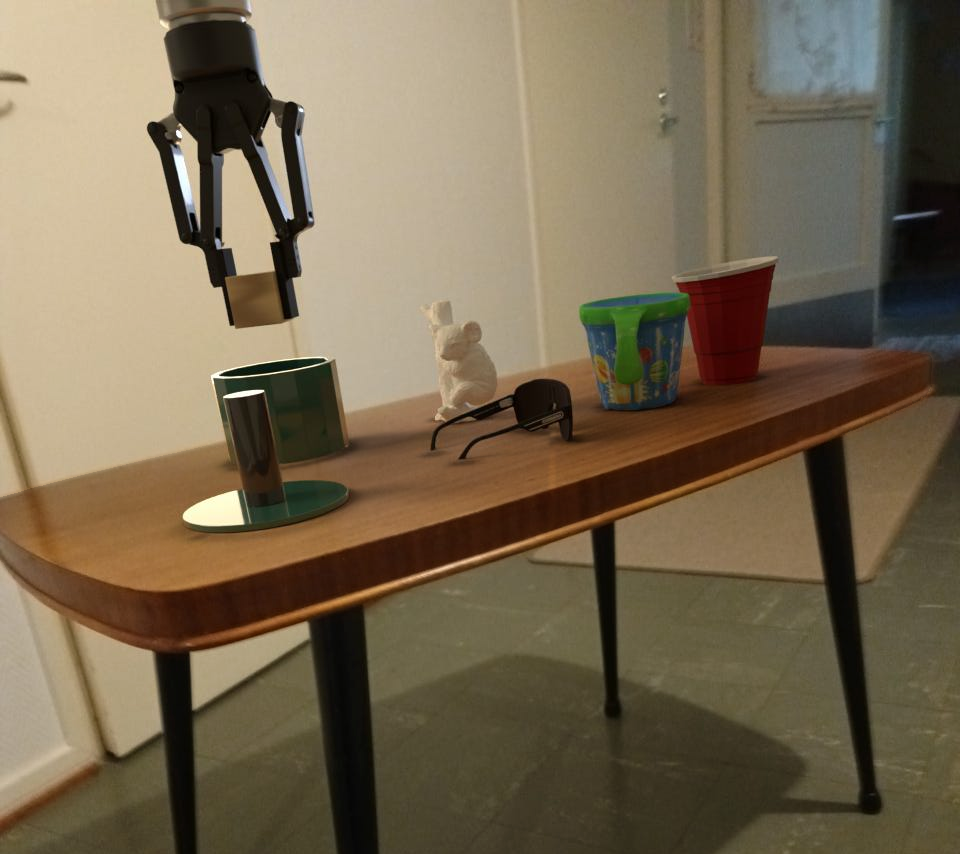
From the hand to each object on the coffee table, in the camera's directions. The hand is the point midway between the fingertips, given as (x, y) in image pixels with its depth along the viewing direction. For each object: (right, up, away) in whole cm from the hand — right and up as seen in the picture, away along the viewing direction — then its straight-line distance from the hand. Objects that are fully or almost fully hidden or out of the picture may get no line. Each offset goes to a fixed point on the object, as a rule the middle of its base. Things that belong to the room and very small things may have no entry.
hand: (264, 320), depth 90 cm
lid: (+4, -19, -16) cm, 25 cm away
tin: (+1, -12, +5) cm, 13 cm away
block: (0, 0, 0) cm, 0 cm away
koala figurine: (+18, -7, +12) cm, 23 cm away
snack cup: (+36, -6, +8) cm, 37 cm away
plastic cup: (+46, -2, +16) cm, 49 cm away
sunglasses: (+22, -13, -3) cm, 25 cm away
